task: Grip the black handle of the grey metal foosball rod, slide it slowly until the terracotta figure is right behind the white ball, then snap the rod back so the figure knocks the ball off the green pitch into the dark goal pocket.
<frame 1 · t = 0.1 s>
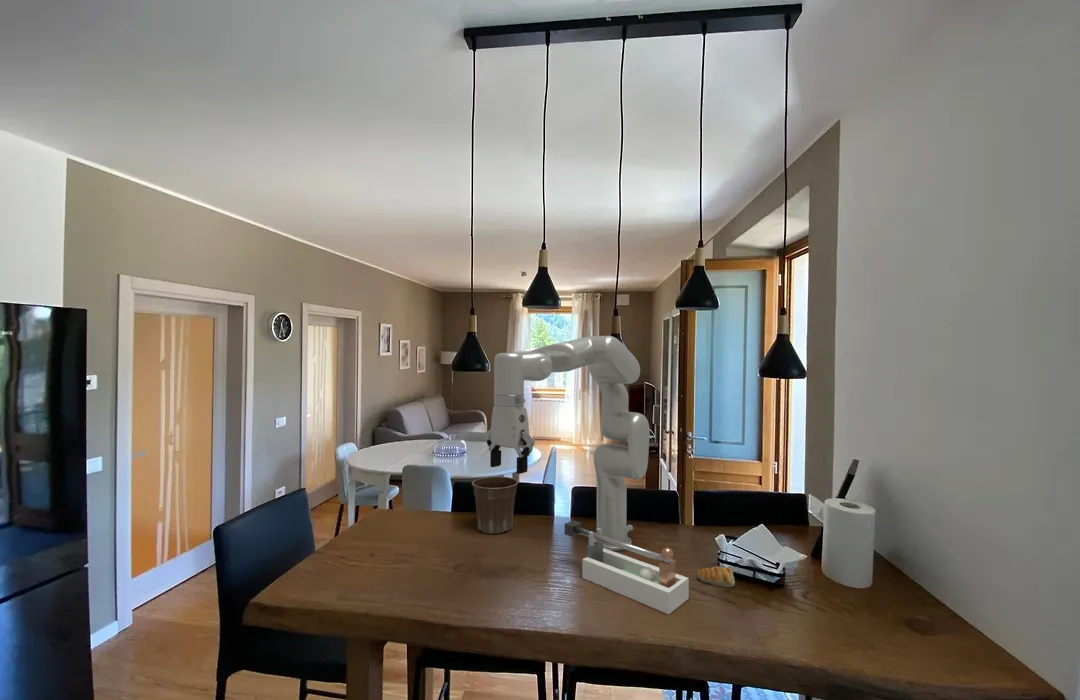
hand: (508, 469, 115), 31 cm above the table, tool pointing down, fingers open, 9 cm apart
foosball box: (637, 589, 118), on the table
plant pot: (494, 528, 160), on the table
pastry: (718, 582, 122), on the table
kicker rod: (616, 550, 122), point 8 cm above the table, slide at 0.0 cm
ball: (647, 583, 115), point 2 cm above the table, touching foosball box
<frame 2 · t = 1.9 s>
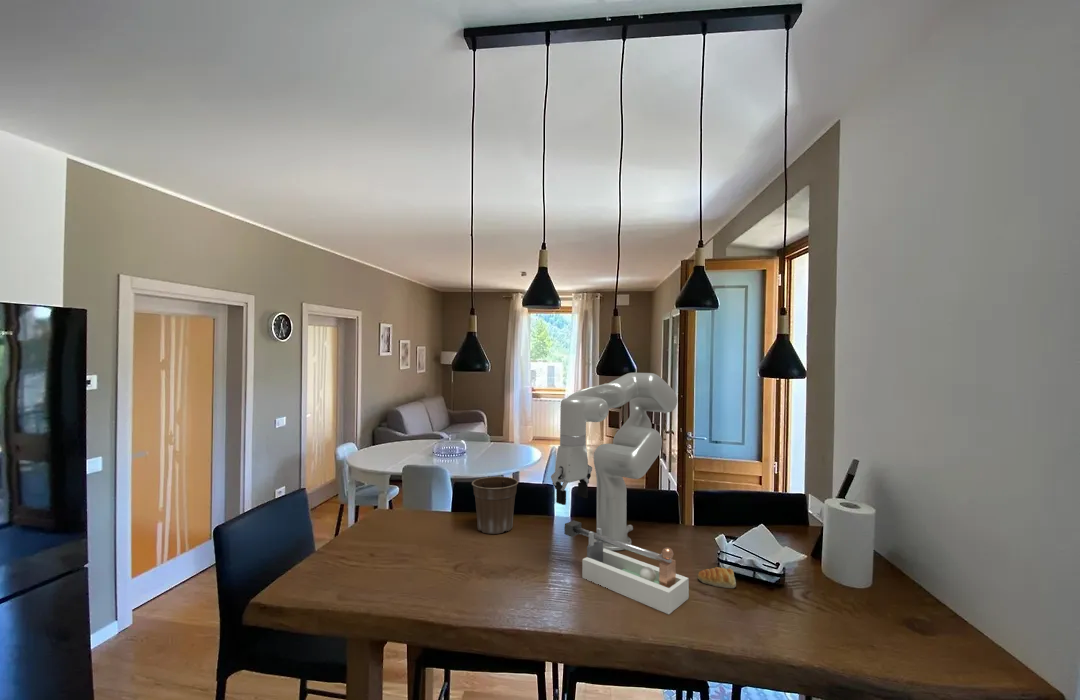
hand: (572, 500, 133), 18 cm above the table, tool pointing down, fingers open, 9 cm apart
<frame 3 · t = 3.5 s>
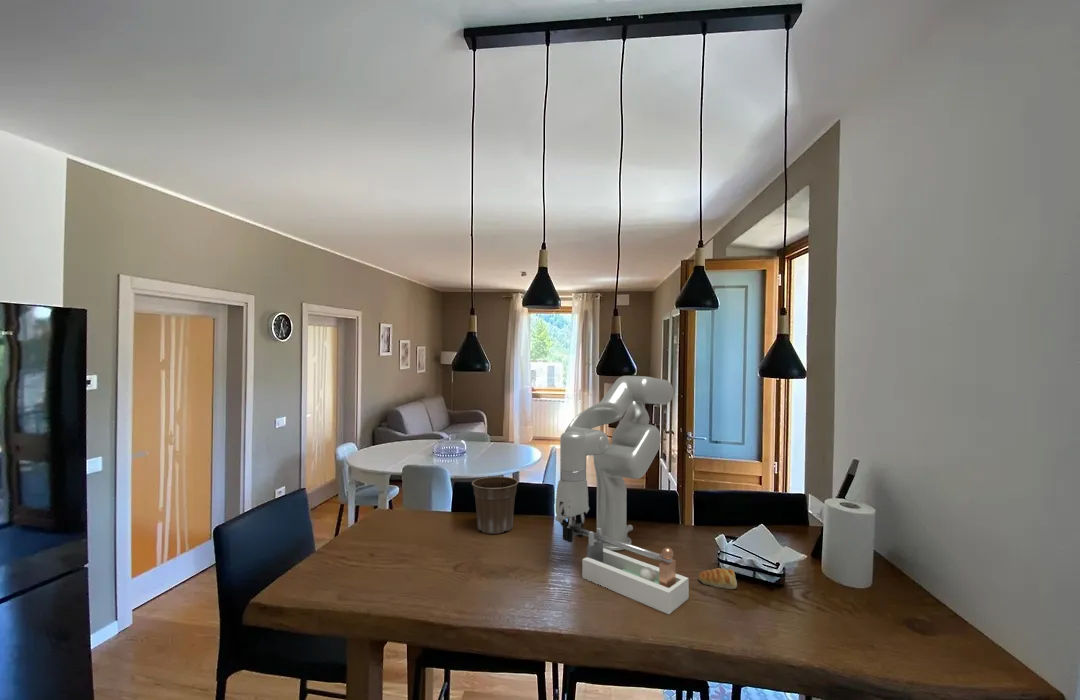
hand: (572, 537, 133), 7 cm above the table, tool pointing down, fingers closed on kicker rod, 4 cm apart
kicker rod: (616, 550, 122), point 8 cm above the table, slide at 0.0 cm, touching gripper
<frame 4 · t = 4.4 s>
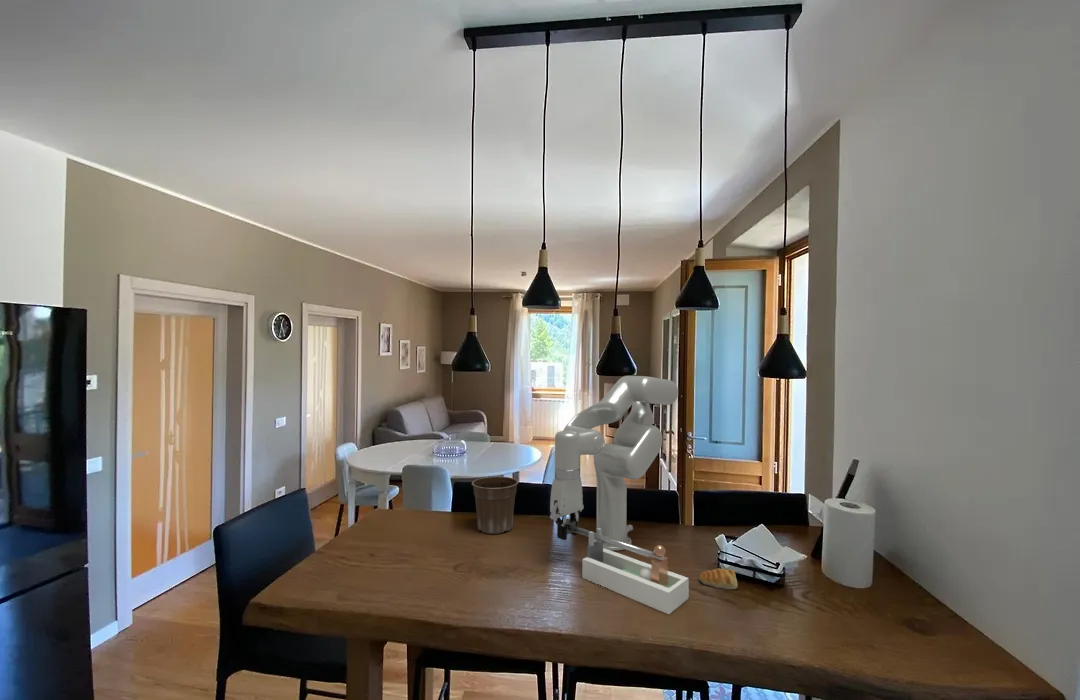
hand: (567, 535, 134), 7 cm above the table, tool pointing down, fingers closed on kicker rod, 4 cm apart
kicker rod: (609, 548, 124), point 8 cm above the table, slide at 2.1 cm, touching gripper
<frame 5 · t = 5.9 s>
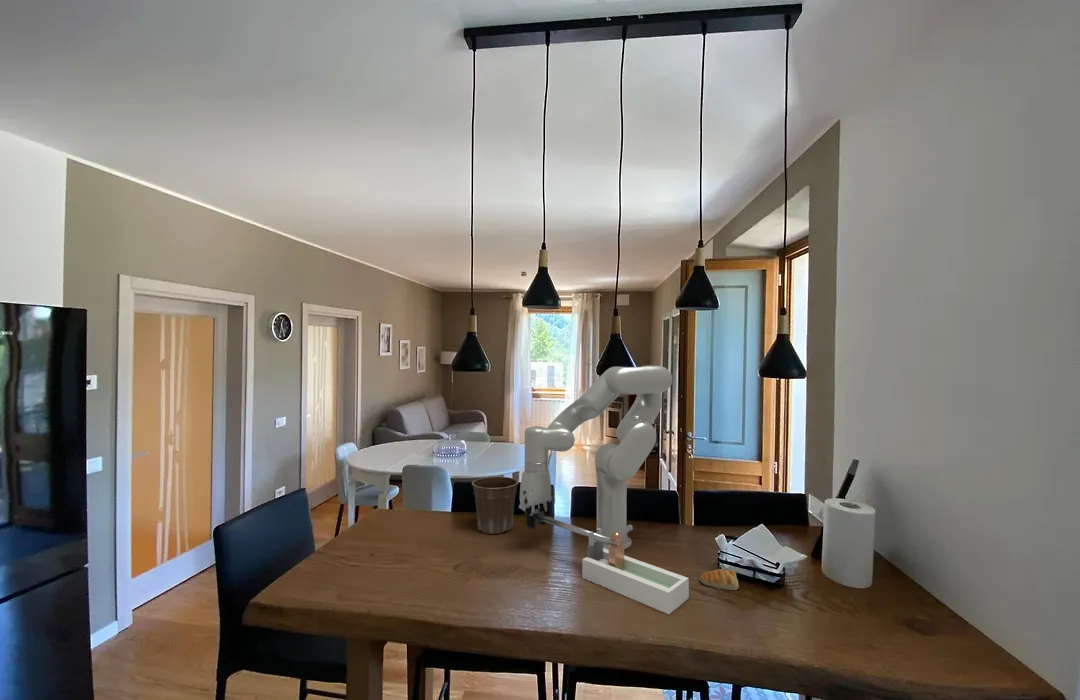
hand: (536, 524, 143), 7 cm above the table, tool pointing down, fingers closed on kicker rod, 4 cm apart
kicker rod: (573, 535, 133), point 8 cm above the table, slide at 14.9 cm, touching gripper
ball: (607, 573, 124), point 1 cm above the table, tilted 42°, touching foosball box
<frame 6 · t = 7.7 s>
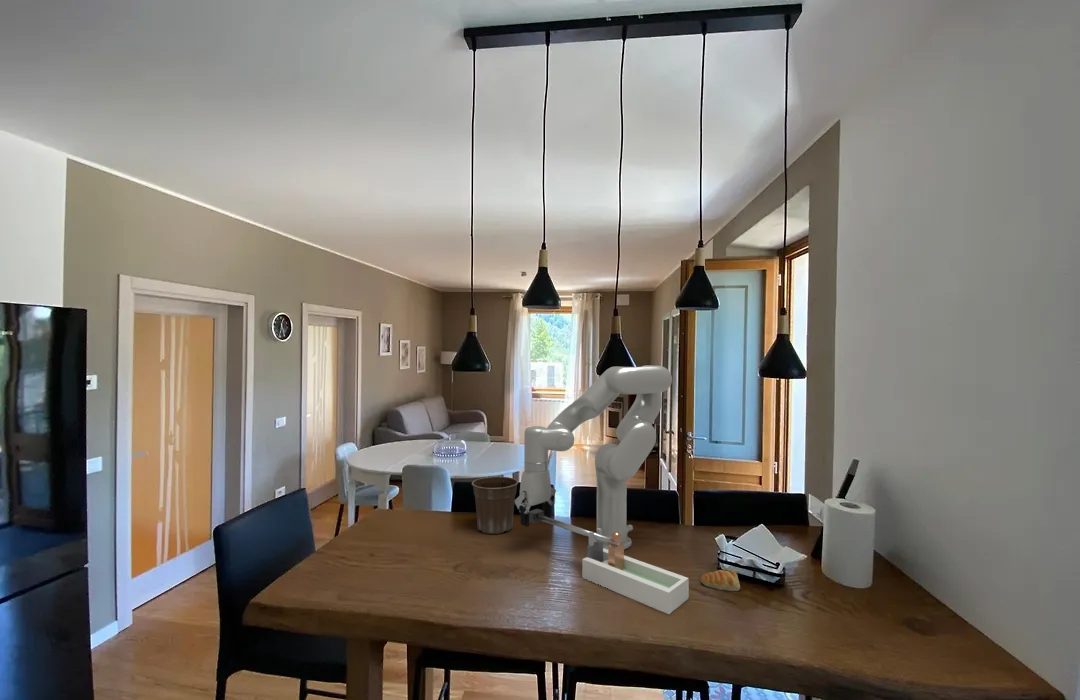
hand: (536, 521, 143), 8 cm above the table, tool pointing down, fingers open, 9 cm apart
kicker rod: (572, 535, 133), point 8 cm above the table, slide at 15.0 cm, touching ball
ball: (608, 575, 124), resting on foosball box, tilted 7°, touching kicker rod
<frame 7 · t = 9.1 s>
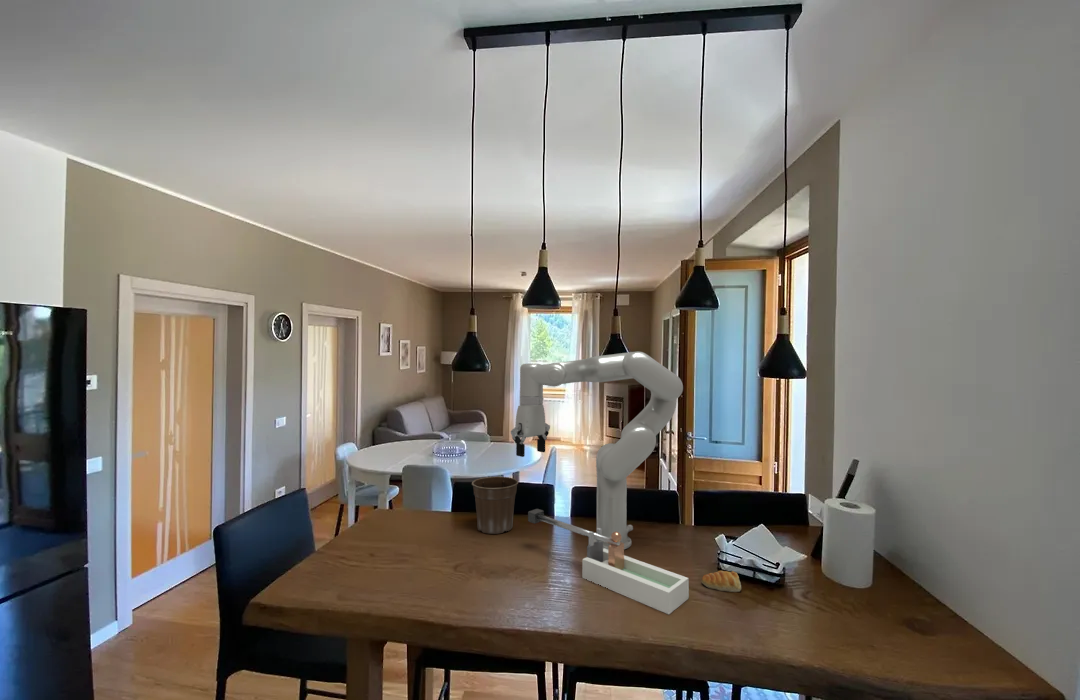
hand: (531, 453, 149), 28 cm above the table, tool pointing down, fingers open, 9 cm apart
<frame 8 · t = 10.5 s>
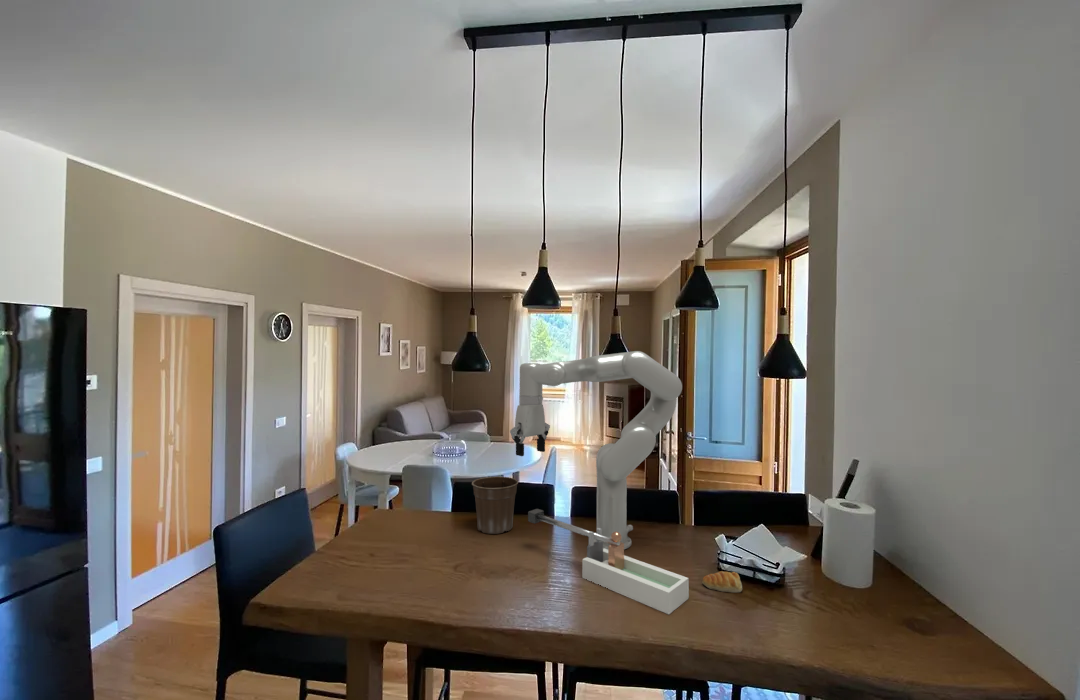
hand: (530, 453, 149), 28 cm above the table, tool pointing down, fingers open, 9 cm apart
at the end: ball 0.4 cm from the target spot on the foosball box, point 0.4 cm above the foosball box's base; kicker rod slide at 15.0 cm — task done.
